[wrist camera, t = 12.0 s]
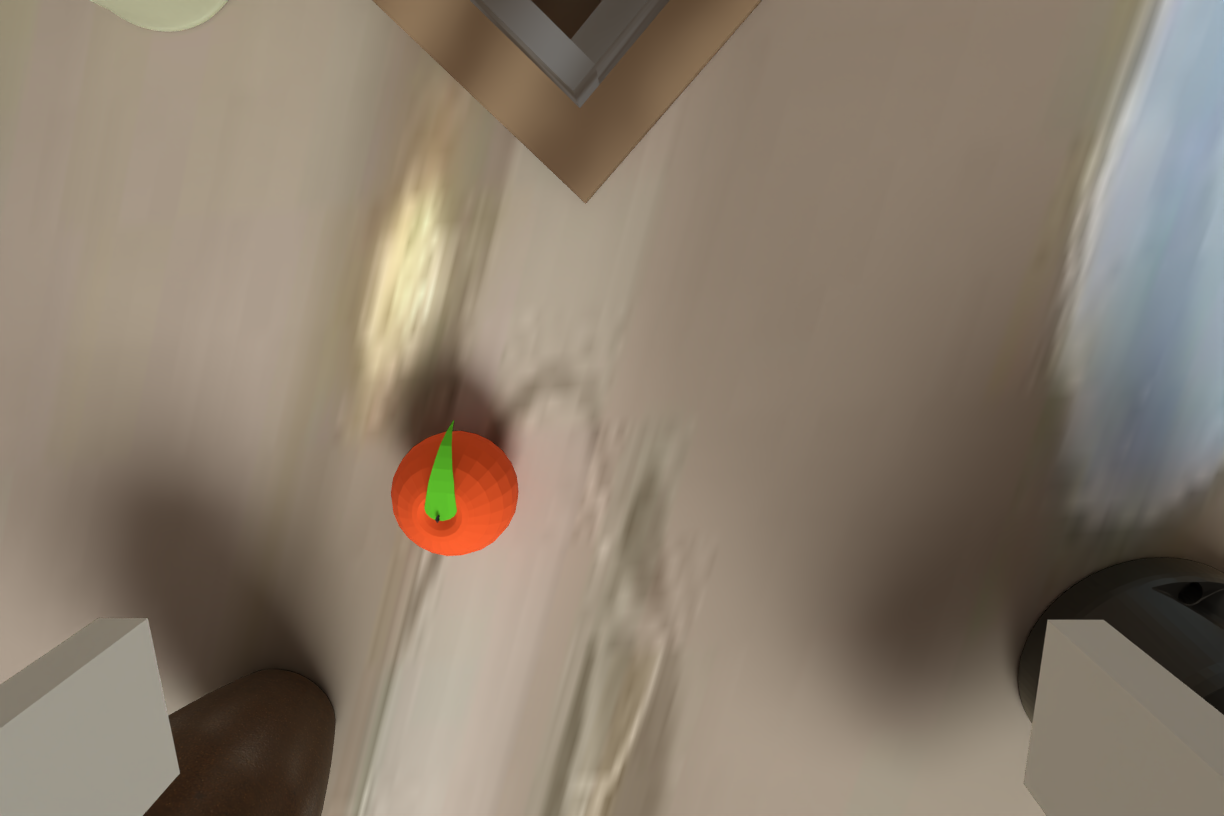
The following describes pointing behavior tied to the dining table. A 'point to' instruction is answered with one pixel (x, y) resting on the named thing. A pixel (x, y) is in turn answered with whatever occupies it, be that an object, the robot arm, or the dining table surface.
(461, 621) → the dining table surface
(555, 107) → the walnut holder
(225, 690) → the plant pot
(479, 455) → the clementine
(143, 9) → the can
